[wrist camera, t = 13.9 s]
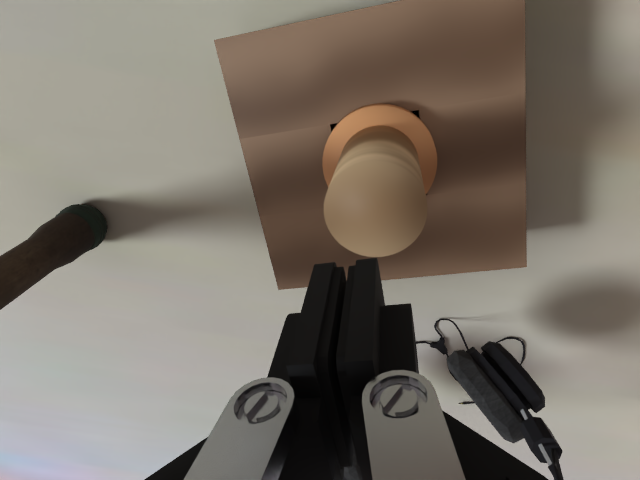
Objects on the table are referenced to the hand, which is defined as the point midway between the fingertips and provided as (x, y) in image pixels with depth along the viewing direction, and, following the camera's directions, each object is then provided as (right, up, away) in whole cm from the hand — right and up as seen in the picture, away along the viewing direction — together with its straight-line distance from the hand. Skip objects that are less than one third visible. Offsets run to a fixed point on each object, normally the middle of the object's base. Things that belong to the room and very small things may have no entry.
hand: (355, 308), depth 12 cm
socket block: (+3, +9, +19) cm, 21 cm away
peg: (+3, +9, +19) cm, 21 cm away
